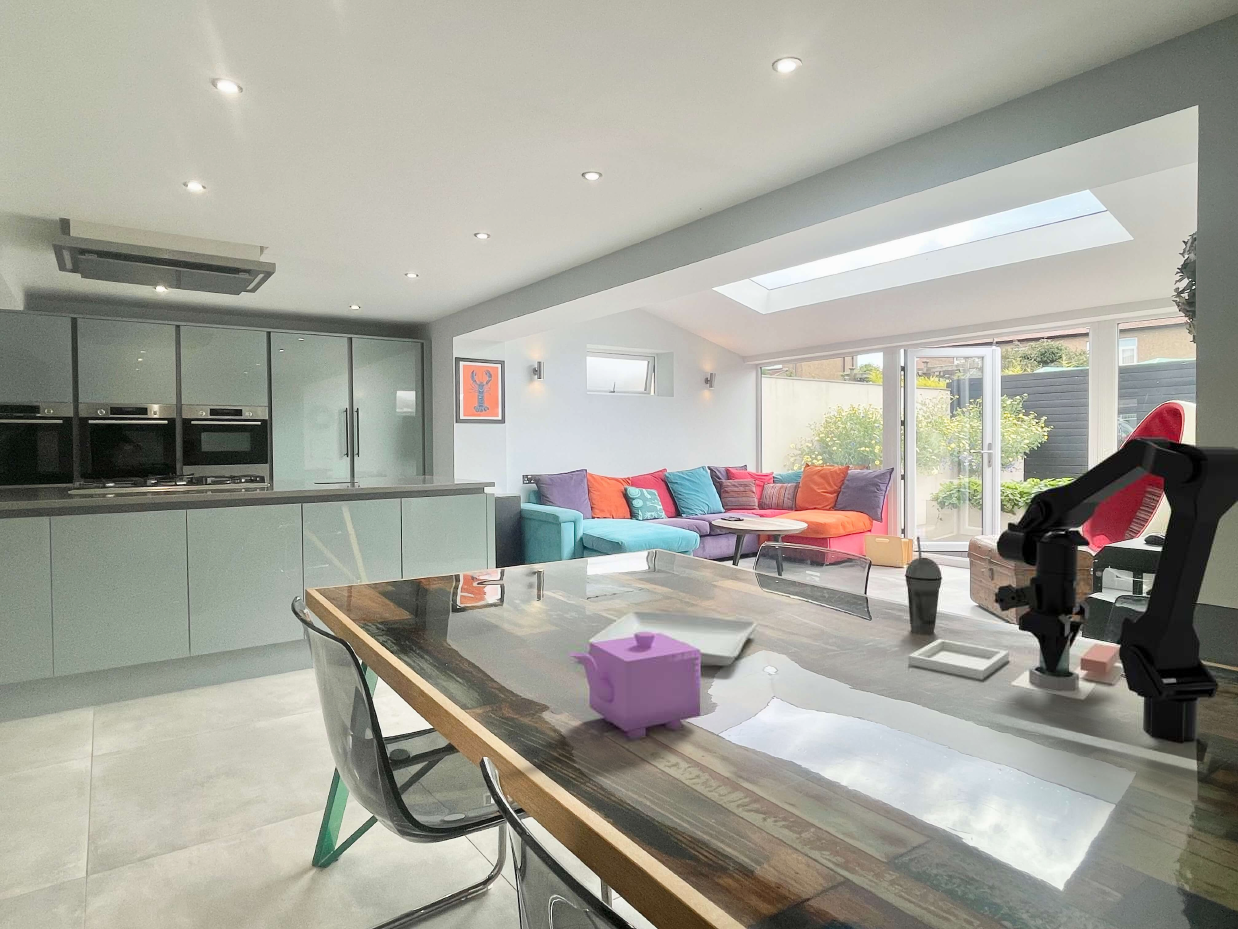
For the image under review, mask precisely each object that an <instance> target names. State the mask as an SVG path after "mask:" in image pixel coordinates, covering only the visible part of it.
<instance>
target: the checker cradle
mask: <svg viewBox="0 0 1238 929" xmlns="http://www.w3.org/2000/svg"><path fill="white" fill-rule="evenodd" d="M1080 667H1081V664H1080V665H1079V666H1078V667H1077V668H1076V669H1075V670H1074V671H1073V670H1071V669H1069V677H1055V676H1050V675H1045V674H1041V673H1039V665H1033V666H1031V667H1030V668H1029V670H1026V671H1025V672H1023V673H1022V674H1021V675H1020V676H1018V677H1017V678H1016V679H1015V680H1013V681H1012V682H1011V683H1010V684H1009V685H1010V686H1014V687H1019V688H1023V689H1024V688H1025V689H1029V690H1034V691H1038V692H1045V693H1048V694H1053V695H1058V696H1063V697H1068V698H1072V699H1076V700H1083V701H1084V700H1085V699H1086V698H1087V697H1088V695H1089V694H1090V693H1091V692H1092V690H1093V689H1094V688H1096V686H1097V683H1093V682H1088V681H1084V680H1079V679H1086V680H1090V681H1096V682H1101V683H1106V684H1111V685H1114V684H1116V682H1117V681H1118V680H1119V678H1120V677H1121V676H1122V675H1123V673H1124V670H1123V666H1122V663H1121V662H1120V663H1118V662H1116V663H1115V665H1114V666H1113V667H1112V668H1111V669H1110V671H1109V672H1108V673H1107V674H1101V673H1095V672H1090V671H1084V670H1080Z"/></svg>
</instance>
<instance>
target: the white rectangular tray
mask: <svg viewBox="0 0 1238 929" xmlns="http://www.w3.org/2000/svg"><path fill="white" fill-rule="evenodd" d="M1009 655H1010V652H1009V651H1007V650H1001V649H996V648H991V647H984V646H980V645H974V644H969V643H963V642H957V641H953V640H952V641H951V640H946V639H942V638H938V639H937V640H935V641H933V642H931V643H930V644H927V645H925V646H924V647H921V648H920V649H918V650H916V651H914V652H912V653H910V654H909V655H908V660H907V661H908V664H907V665H908V666H907V668H908V670H909V669H911V668H913V667H919V668H923V669H929V670H933V671H939V672H943V673H948V674H954V675H958V676H963V677H965V678H966V677H967V678H973V679H977V680H984V679H986V678H987V677H989V676H990V675H991V674H992V673H993V672H995V671H996V670H997V669H999V668H1000V667H1002V666H1003V665H1005V664H1006V663H1007V662H1008V661H1010V660H1009V659H1010V658H1009V657H1010V656H1009Z"/></svg>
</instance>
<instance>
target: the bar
mask: <svg viewBox="0 0 1238 929" xmlns="http://www.w3.org/2000/svg"><path fill="white" fill-rule="evenodd" d="M1119 648H1120V647H1117V646H1111V645H1104V644H1098V643H1094V644H1093V645H1092V646H1091V647H1090V648H1089V649H1088V650H1087V651H1086V652H1085V653H1084V654H1083V655H1082V656H1081V657H1080V665H1081V667H1080V670H1084V671H1090V672H1095V673H1101V674H1107V673H1108V672H1109V671H1110V669H1111V668H1112V667H1113V666H1114V665H1115V663H1118V662H1119V660H1120V658H1119Z"/></svg>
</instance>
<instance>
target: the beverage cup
mask: <svg viewBox="0 0 1238 929" xmlns="http://www.w3.org/2000/svg"><path fill="white" fill-rule="evenodd" d="M916 541H917V543H916V544H917V551H918V552H917V553H918V557H917V558H915V559H913V560H911V561H910V562H909V564H908V565H907V566H906V570H905V574H904V577H905V583H906V586H907V587H906V588H907V599H908V600H907V601H908V614H909V615H908V616H909V624H910V631H911V632H912V633H914V632H915V634H918V633H919V635H933V634H934V633H935V628H936V621H937V610H938V603H939V602H938V601H939V593H940V589H941V585H942V580H943V577H942V572H941V569H940V567H939V565H938V564H937V562H935V561H934V560H933V559H932V558H931V559H930V558H928V557H923V556H922V551H921V549H922V548H921V541H920V536H916ZM932 633H933V634H932Z"/></svg>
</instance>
